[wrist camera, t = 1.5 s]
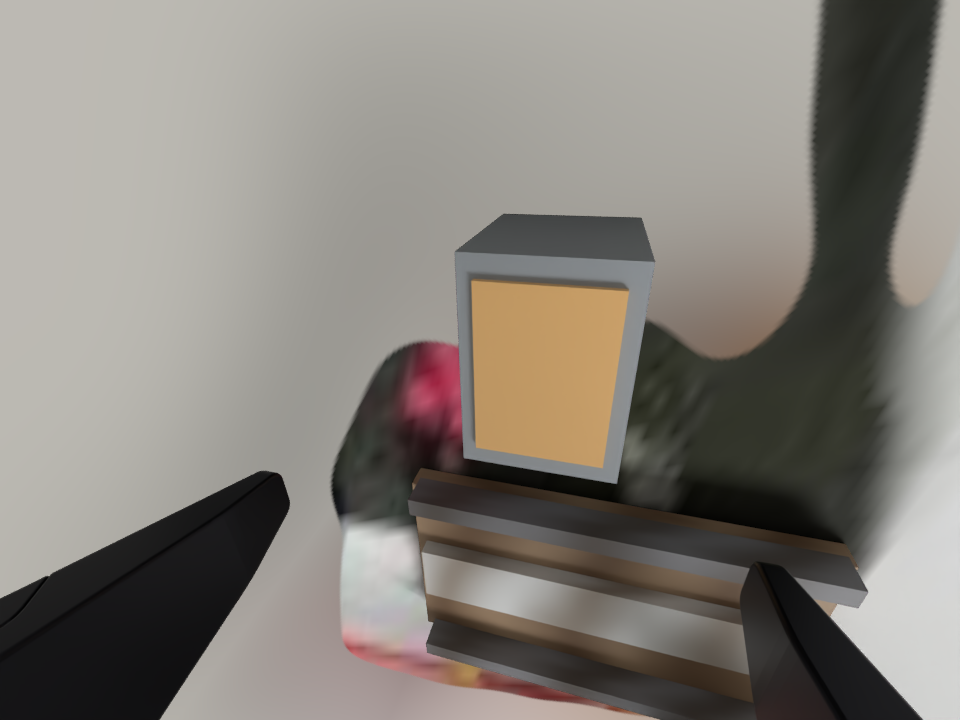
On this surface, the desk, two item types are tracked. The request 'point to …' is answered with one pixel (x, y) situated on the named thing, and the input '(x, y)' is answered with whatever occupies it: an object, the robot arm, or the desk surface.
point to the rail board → (604, 593)
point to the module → (551, 340)
